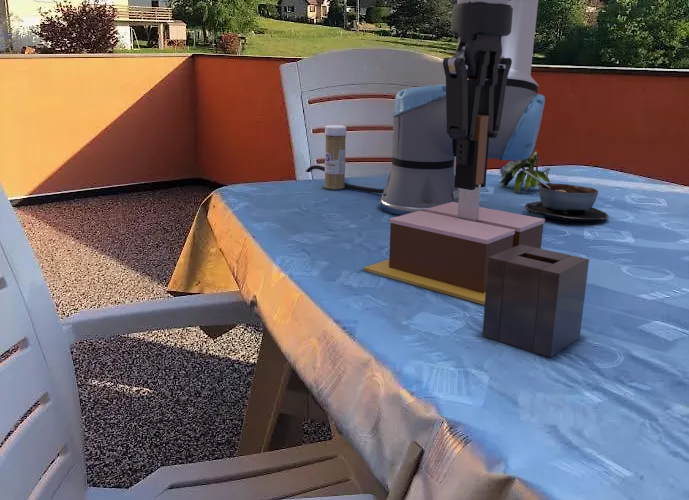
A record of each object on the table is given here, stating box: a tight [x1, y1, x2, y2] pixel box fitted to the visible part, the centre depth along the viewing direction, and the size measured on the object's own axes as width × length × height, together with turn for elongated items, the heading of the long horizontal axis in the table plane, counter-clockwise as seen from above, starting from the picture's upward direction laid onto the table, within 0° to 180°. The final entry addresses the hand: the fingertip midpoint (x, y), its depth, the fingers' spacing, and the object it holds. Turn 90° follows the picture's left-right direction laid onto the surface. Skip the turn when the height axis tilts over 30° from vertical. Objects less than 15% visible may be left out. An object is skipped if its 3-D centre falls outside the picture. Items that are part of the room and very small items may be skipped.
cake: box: [363, 202, 546, 306], centre depth 98 cm, size 20×20×8 cm
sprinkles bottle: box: [323, 124, 347, 191], centre depth 152 cm, size 5×5×14 cm
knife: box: [457, 115, 489, 222], centre depth 96 cm, size 3×2×21 cm, turn 48°
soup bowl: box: [524, 171, 609, 222], centre depth 131 cm, size 15×16×7 cm
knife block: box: [481, 245, 590, 359], centre depth 76 cm, size 8×7×9 cm
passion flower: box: [498, 144, 551, 195], centre depth 156 cm, size 11×11×12 cm
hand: (470, 186), depth 96 cm, fingers closed on knife, 2 cm apart
